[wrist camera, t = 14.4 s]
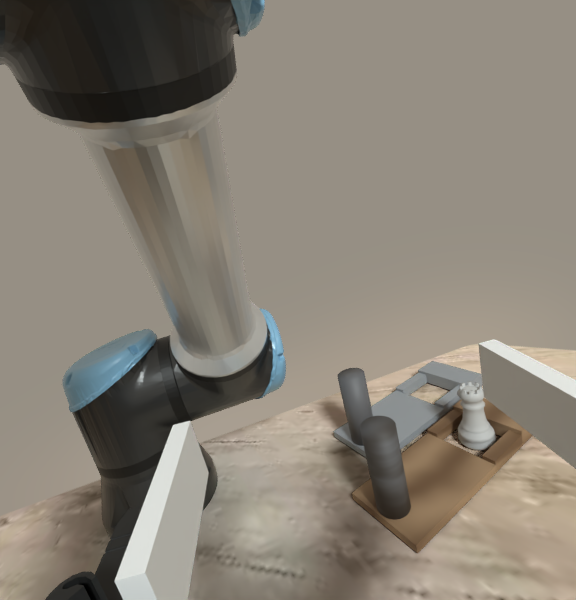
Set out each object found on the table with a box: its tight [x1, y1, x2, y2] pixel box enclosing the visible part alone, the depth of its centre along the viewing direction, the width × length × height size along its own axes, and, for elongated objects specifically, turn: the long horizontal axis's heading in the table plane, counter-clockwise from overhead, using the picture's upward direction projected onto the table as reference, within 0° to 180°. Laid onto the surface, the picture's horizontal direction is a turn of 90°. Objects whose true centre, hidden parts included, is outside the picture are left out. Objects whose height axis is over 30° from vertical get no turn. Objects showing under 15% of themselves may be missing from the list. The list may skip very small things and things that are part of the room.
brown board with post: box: [352, 398, 532, 553], centre depth 42 cm, size 9×24×11 cm, turn 123°
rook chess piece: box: [457, 381, 496, 451], centre depth 45 cm, size 4×4×8 cm
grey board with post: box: [333, 361, 483, 457], centre depth 53 cm, size 9×24×11 cm, turn 123°
